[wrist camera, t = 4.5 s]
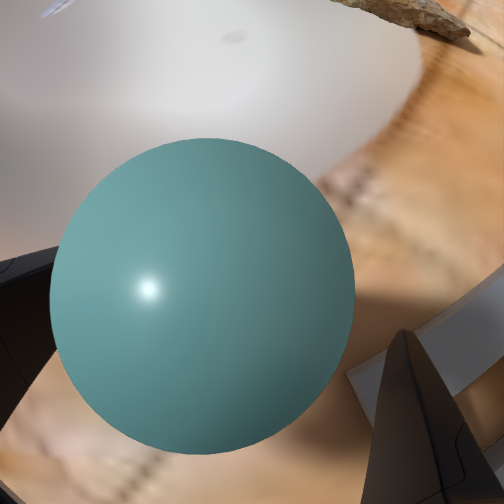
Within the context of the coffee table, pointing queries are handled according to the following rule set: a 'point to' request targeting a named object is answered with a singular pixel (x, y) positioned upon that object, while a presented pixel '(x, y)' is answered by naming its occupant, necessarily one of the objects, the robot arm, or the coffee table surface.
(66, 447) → the coffee table surface
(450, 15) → the stone
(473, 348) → the socket board
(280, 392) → the peg
